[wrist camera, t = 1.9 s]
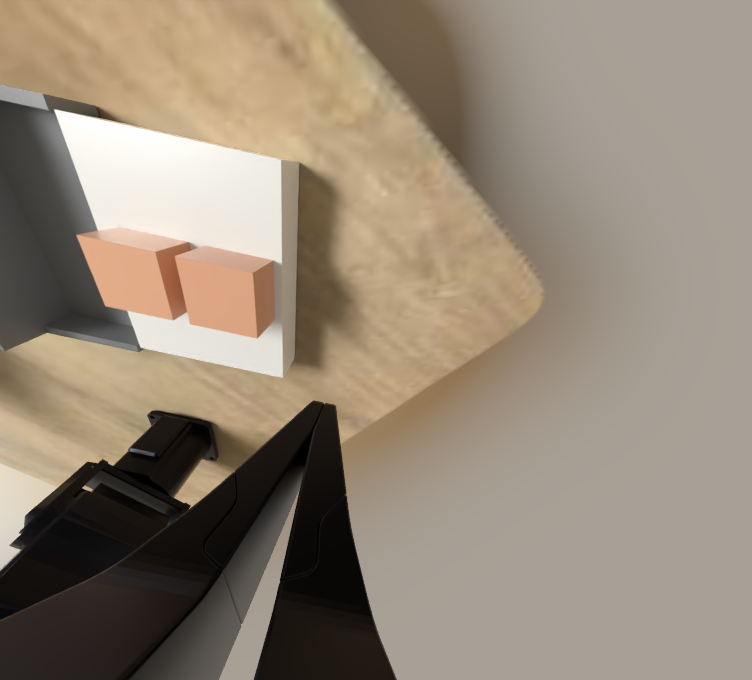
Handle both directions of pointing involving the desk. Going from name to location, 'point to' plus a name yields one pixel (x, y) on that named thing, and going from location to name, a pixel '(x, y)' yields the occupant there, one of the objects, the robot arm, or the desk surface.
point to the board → (196, 222)
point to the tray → (47, 231)
